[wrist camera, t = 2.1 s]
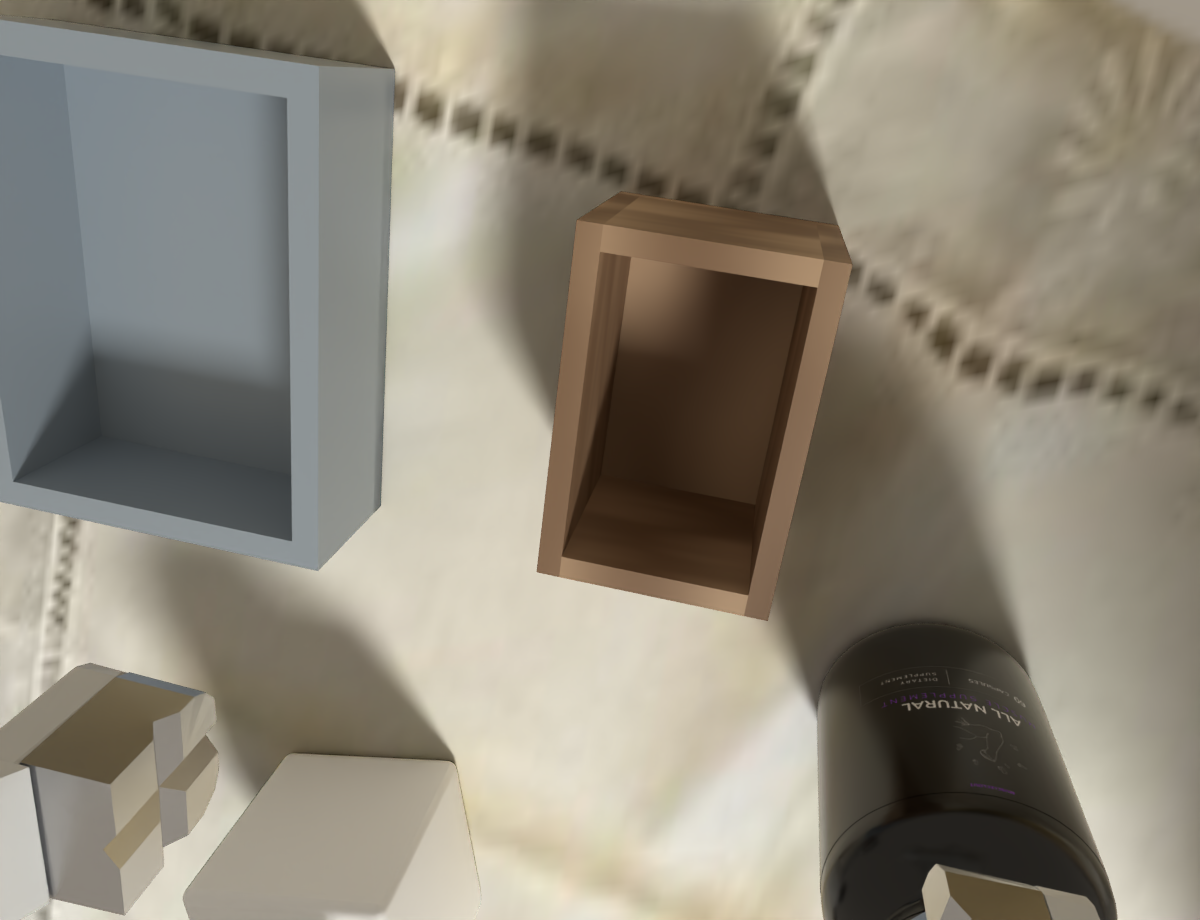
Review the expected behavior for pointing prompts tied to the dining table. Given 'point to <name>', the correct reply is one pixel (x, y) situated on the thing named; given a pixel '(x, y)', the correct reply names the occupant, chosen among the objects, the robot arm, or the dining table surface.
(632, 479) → the walnut crate
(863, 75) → the dining table surface
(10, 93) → the grey crate
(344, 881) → the medicine bottle
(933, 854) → the supplement bottle
